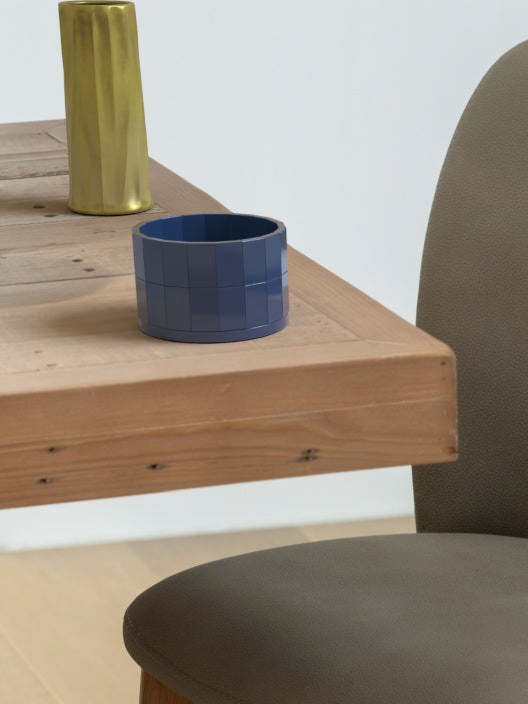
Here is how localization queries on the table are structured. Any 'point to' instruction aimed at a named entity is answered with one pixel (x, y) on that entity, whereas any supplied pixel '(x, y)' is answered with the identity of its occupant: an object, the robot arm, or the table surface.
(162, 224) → the bowl
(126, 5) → the vase
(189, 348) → the table surface
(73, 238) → the table surface
